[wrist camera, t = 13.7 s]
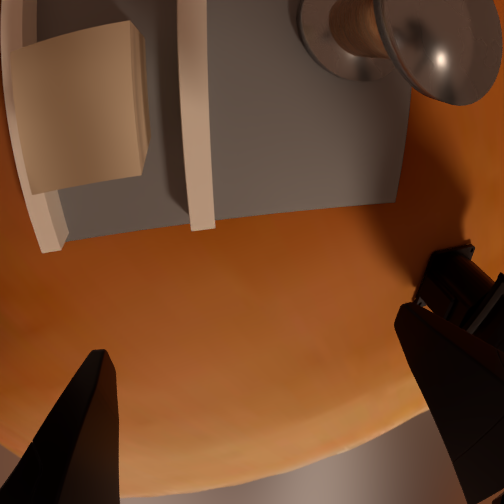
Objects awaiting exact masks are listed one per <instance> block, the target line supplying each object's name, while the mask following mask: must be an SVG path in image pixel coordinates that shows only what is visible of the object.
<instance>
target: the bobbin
mask: <svg viewBox="0 0 504 504" xmlns="http://www.w3.org/2000/svg"><path fill="white" fill-rule="evenodd" d="M296 23H297V30H298V34H299V37H300V40H301V42H302V44H303V46H304V48H305V50H306V51H307V53H308V55H309V56H310V57H311V58H312V60H313V61H314V62H315V63H316V64H317V65H318V66H320V67H321V68H322V69H323V70H325V71H327V72H328V73H330V74H332V75H334V76H336V77H339V78H342V79H346V80H352V81H358V82H368V81H374V80H377V79H380V78H382V77H384V76H386V75H387V74H389V73H390V72H391V71H392V70H393V69H394V68H396V69H397V70H398V72H399V73H400V74H401V76H402V77H403V78H404V79H405V80H406V81H407V82H408V83H409V84H410V85H411V86H412V87H413V88H414V89H416V90H417V91H419V92H420V93H421V94H423V95H425V96H427V97H429V98H432V99H435V100H438V101H442V102H445V103H448V104H451V105H458V106H461V105H468V104H472V103H474V102H476V101H478V100H479V99H481V98H482V97H483V96H484V95H485V94H486V93H487V92H488V91H489V90H490V88H491V87H492V85H493V83H494V81H495V80H496V77H497V74H498V72H499V68H500V64H501V58H502V32H501V25H500V20H499V17H498V13H497V10H496V7H495V4H494V2H493V0H300V1H299V4H298V8H297V14H296Z"/></svg>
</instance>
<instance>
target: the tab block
mask: <svg viewBox="0 0 504 504" xmlns="http://www.w3.org/2000/svg"><path fill="white" fill-rule="evenodd" d="M10 60H11V76H12V88H13V97H14V106H15V113H16V120H17V127H18V133H19V139H20V144H21V149H22V154H23V159H24V164H25V168H26V173H27V177H28V181H29V185H30V189H31V193H32V195H36V194H40V193H45V192H49V191H54V190H59V189H64V188H69V187H74V186H80V185H85V184H91V183H96V182H102V181H108V180H114V179H120V178H127V177H133V176H140V175H142V171H143V167H144V163H145V159H146V155H147V151H148V147H149V143H150V139H151V129H150V117H149V104H148V90H147V72H146V47H145V38H144V36H143V35H142V34H141V33H140V32H139V30H138V29H137V28H136V27H135V26H134V24H133V23H132V22H131V21H130V20H129V21H122V22H117V23H111V24H106V25H101V26H96V27H92V28H88V29H83V30H79V31H75V32H71V33H68V34H64V35H60V36H57V37H53V38H50V39H47V40H44V41H40V42H37V43H34V44H31V45H29V46H26V47H23V48H20V49H17V50H15V51H12V52H10Z"/></svg>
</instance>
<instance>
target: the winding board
mask: <svg viewBox="0 0 504 504" xmlns="http://www.w3.org/2000/svg"><path fill="white" fill-rule="evenodd" d="M299 1H300V0H2V2H1V63H2V77H3V88H4V97H5V106H6V113H7V120H8V126H9V132H10V138H11V143H12V148H13V153H14V158H15V162H16V167H17V171H18V175H19V179H20V183H21V187H22V191H23V195H24V198H25V202H26V205H27V209H28V212H29V216H30V219H31V222H32V225H33V228H34V231H35V234H36V237H37V240H38V243H39V246H40V249H41V251H42V253H47V252H53V251H59V250H61V249H62V247H63V245H64V243H65V242H67V241H73V240H79V239H85V238H91V237H98V236H104V235H111V234H117V233H124V232H131V231H138V230H145V229H152V228H159V227H167V226H174V225H181V224H189V223H190V226H191V231H197V230H204V229H212V228H215V220H221V219H229V218H238V217H246V216H255V215H264V214H273V213H283V212H292V211H302V210H312V209H323V208H333V207H345V206H356V205H368V204H380V203H393V202H395V201H396V196H397V190H398V185H399V179H400V174H401V168H402V162H403V155H404V148H405V141H406V134H407V126H408V118H409V109H410V99H411V87H412V86H411V85H410V84H409V83H408V82H407V81H406V80H405V79H404V78H403V77H402V76H401V74H400V73H399V72H398V70H397V69H396V68H394V69H393V70H392V71H391V72H390V73H389V74H387V75H386V76H384V77H382V78H380V79H377V80H374V81H368V82H358V81H352V80H346V79H342V78H339V77H336V76H334V75H332V74H330V73H328V72H327V71H325V70H323V69H322V68H321V67H320V66H318V65H317V64H316V63H315V62H314V61H313V60H312V58H311V57H310V56H309V55H308V53H307V51H306V50H305V48H304V46H303V44H302V42H301V40H300V37H299V34H298V30H297V23H296V14H297V8H298V4H299ZM129 20H130V21H131V22H132V23H133V24H134V26H135V27H136V28H137V29H138V30H139V32H140V33H141V34H142V35H143V36H144V38H145V47H146V72H147V90H148V104H149V117H150V129H151V139H150V143H149V147H148V151H147V155H146V159H145V163H144V167H143V171H142V175H140V176H133V177H127V178H120V179H114V180H108V181H102V182H96V183H91V184H85V185H80V186H74V187H69V188H64V189H59V190H54V191H49V192H45V193H40V194H36V195H32V193H31V189H30V185H29V181H28V177H27V173H26V168H25V164H24V159H23V154H22V149H21V144H20V139H19V133H18V127H17V120H16V113H15V106H14V97H13V88H12V76H11V60H10V52H12V51H15V50H17V49H20V48H23V47H26V46H29V45H31V44H34V43H37V42H40V41H44V40H47V39H50V38H53V37H57V36H60V35H64V34H68V33H71V32H75V31H79V30H83V29H88V28H92V27H96V26H101V25H106V24H111V23H117V22H122V21H129Z"/></svg>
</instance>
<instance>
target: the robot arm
mask: <svg viewBox="0 0 504 504" xmlns="http://www.w3.org/2000/svg"><path fill="white" fill-rule="evenodd" d="M474 250H475V247H474V246H473V245H472V244H469V245H464V246H460V247H455V248H450V249H445V250H440V251H436V252H434V253H433V254H432V255H431V257H430V260H429V263H428V266H427V269H426V272H425V275H424V278H423V281H422V283H421V286H420V289H419V292H418V294H417V297H416V299H415V302H409V303H405V304H402V305H401V306H400V309H399V311H398V314H397V317H396V319H395V322H394V328H395V331H396V333H397V336H398V338H399V341H400V344H401V346H402V349H403V351H404V354H405V357H406V359H407V362H408V364H409V367H410V369H411V371H412V373H413V375H414V377H415V379H416V382H417V384H418V386H419V388H420V390H421V392H422V394H423V396H424V398H425V401H426V403H427V405H428V407H429V409H430V411H431V414H432V416H433V418H434V421H435V423H436V425H437V427H438V430H439V432H440V434H441V436H442V439H443V441H444V444H445V446H446V449H447V451H448V453H449V456H450V458H451V461H452V464H453V466H454V469H455V471H456V474H457V477H458V479H459V482H460V485H461V487H462V490H463V493H464V496H465V499H466V501H467V504H477V503H479V502H481V501H483V500H485V499H486V498H488V497H490V496H492V495H493V494H495V493H497V492H498V491H500V490H502V489H503V488H504V274H503V273H501V272H500V274H499V275H498V278H497V280H496V281H495V282H494V281H493V280H492V279H491V278H490V277H489V276H488V275H487V274H486V273H484V272H483V271H482V270H481V269H480V268H479V267H478V266H477V265H476V264H475V263H474V262H472V261H471V258H472V255H473V253H474ZM426 305H427V306H428V307H429V308H430V309H431V310H432V312H433V313H432V312H430V311H429V310H427V309H425V308H423V306H426ZM0 504H120V497H119V414H118V401H117V385H116V371H115V367H114V365H113V363H112V361H111V359H110V357H109V354H108V352H107V351H106V350H105V349H99V350H92V351H91V352H90V353H89V355H88V356H87V358H86V359H85V361H84V362H83V363H82V365H81V366H80V368H79V369H78V371H77V372H76V374H75V375H74V377H73V378H72V380H71V381H70V382H69V384H68V385H67V387H66V388H65V390H64V391H63V393H62V394H61V396H60V397H59V399H58V401H57V402H56V404H55V405H54V407H53V408H52V410H51V411H50V413H49V414H48V416H47V418H46V419H45V421H44V422H43V424H42V426H41V427H40V429H39V430H38V432H37V434H36V435H35V437H34V439H33V442H31V443H30V445H29V447H28V448H27V450H26V452H25V453H24V455H23V456H22V458H21V460H20V461H19V463H18V465H17V466H16V467H15V469H14V470H13V472H12V473H11V474H10V476H9V477H8V479H7V480H6V481H5V483H4V484H3V486H2V487H1V488H0ZM492 504H504V492H503V493H502V494H500V495H499V496H498V497H497V498H495V499H494V500H493V501H492Z"/></svg>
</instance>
